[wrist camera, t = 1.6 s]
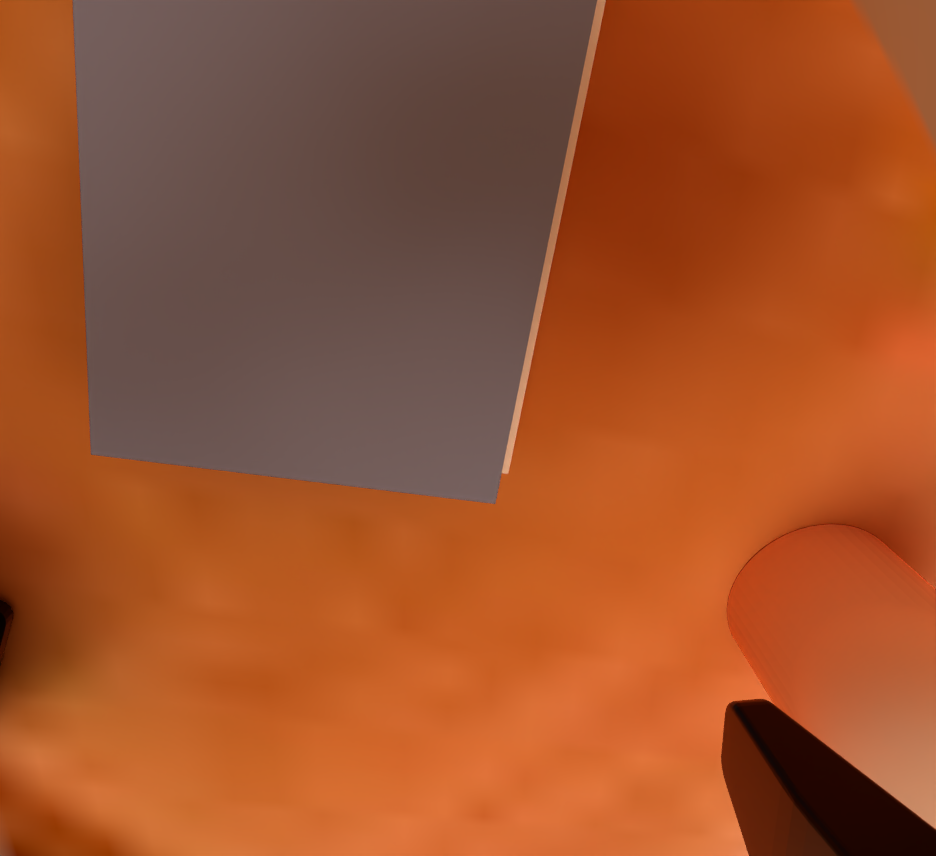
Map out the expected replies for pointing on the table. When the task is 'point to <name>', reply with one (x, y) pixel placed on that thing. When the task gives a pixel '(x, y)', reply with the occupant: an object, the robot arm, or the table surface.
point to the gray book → (323, 229)
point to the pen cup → (847, 651)
